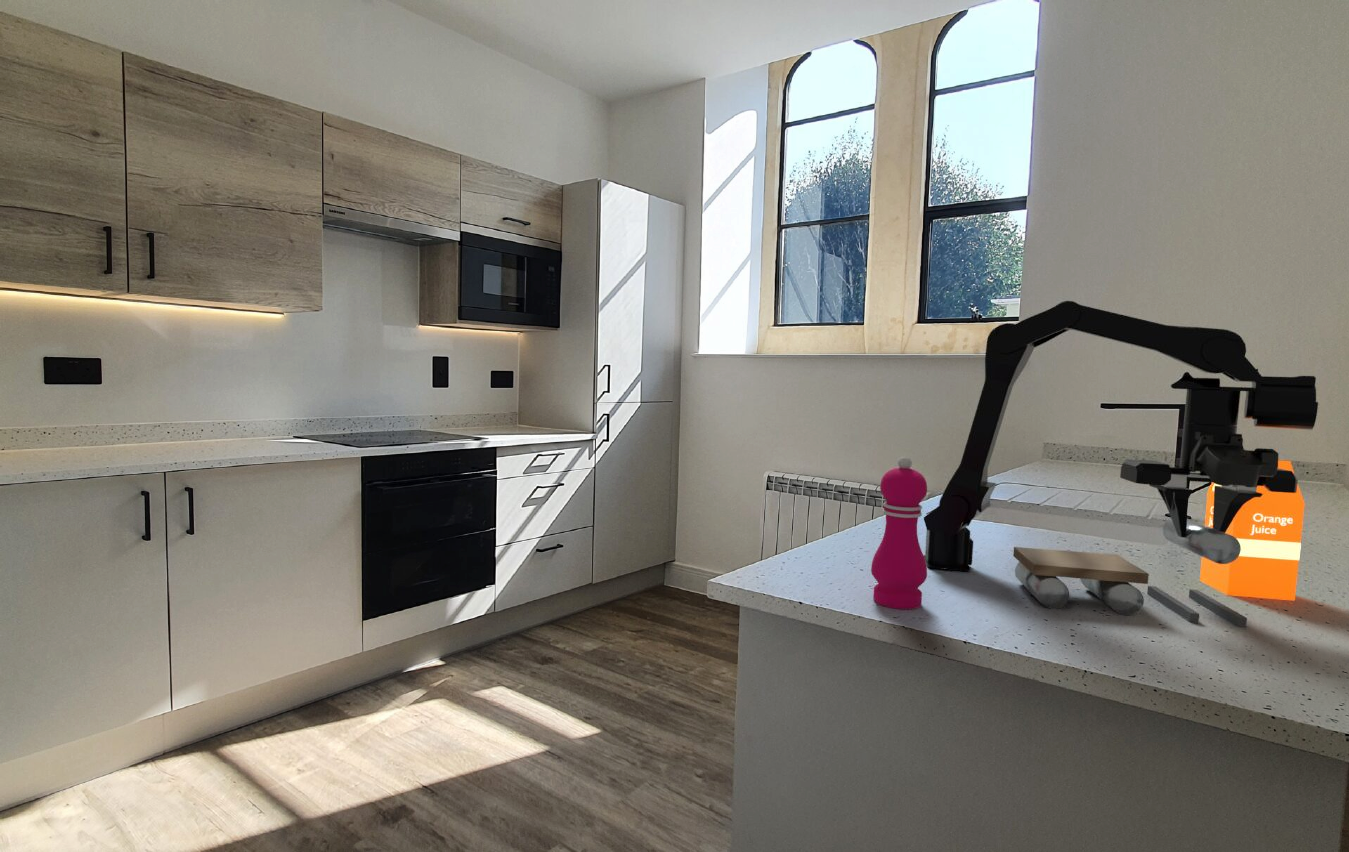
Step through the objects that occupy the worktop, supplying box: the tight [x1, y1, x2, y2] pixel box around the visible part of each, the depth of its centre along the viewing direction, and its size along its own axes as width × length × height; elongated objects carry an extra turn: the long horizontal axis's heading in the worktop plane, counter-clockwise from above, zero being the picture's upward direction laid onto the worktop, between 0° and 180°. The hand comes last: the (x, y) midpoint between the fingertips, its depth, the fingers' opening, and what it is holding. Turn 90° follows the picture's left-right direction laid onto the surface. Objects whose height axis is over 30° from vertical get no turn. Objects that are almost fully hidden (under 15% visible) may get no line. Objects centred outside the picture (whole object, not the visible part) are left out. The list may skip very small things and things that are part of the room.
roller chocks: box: [1146, 585, 1248, 628], centre depth 95 cm, size 6×12×1 cm, turn 168°
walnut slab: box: [1012, 546, 1150, 585], centre depth 98 cm, size 14×10×1 cm
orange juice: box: [1199, 460, 1306, 601], centre depth 105 cm, size 8×9×20 cm
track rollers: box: [1014, 561, 1145, 616], centre depth 98 cm, size 13×11×4 cm
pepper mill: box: [870, 456, 928, 610], centre depth 94 cm, size 7×7×20 cm
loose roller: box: [1162, 517, 1241, 564], centre depth 95 cm, size 11×4×4 cm, turn 169°
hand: (1199, 538), depth 95 cm, fingers closed on loose roller, 4 cm apart
